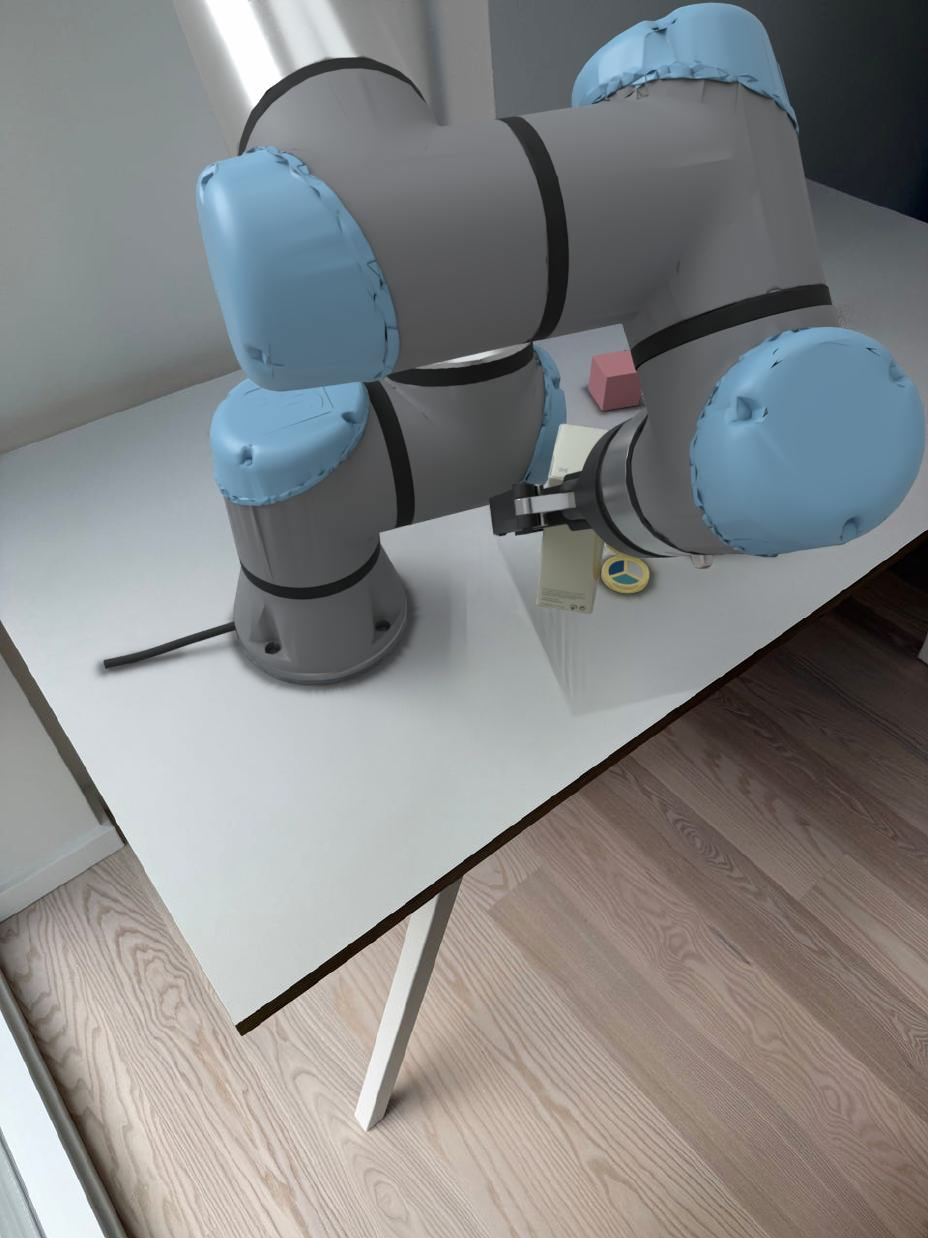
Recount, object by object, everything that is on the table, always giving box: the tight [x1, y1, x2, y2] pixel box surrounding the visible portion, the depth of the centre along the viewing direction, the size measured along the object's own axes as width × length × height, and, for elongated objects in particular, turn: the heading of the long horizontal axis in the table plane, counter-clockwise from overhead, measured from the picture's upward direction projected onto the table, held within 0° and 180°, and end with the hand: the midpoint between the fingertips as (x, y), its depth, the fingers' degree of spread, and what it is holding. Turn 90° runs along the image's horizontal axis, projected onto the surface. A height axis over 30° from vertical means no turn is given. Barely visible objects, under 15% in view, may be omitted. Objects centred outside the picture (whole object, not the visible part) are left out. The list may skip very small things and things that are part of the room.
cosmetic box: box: [535, 423, 610, 615], centre depth 63 cm, size 6×4×12 cm
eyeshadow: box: [600, 543, 651, 594], centre depth 82 cm, size 4×5×5 cm
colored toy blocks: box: [587, 349, 642, 412], centre depth 94 cm, size 4×28×4 cm, turn 16°
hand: (561, 511), depth 67 cm, fingers closed on cosmetic box, 6 cm apart
